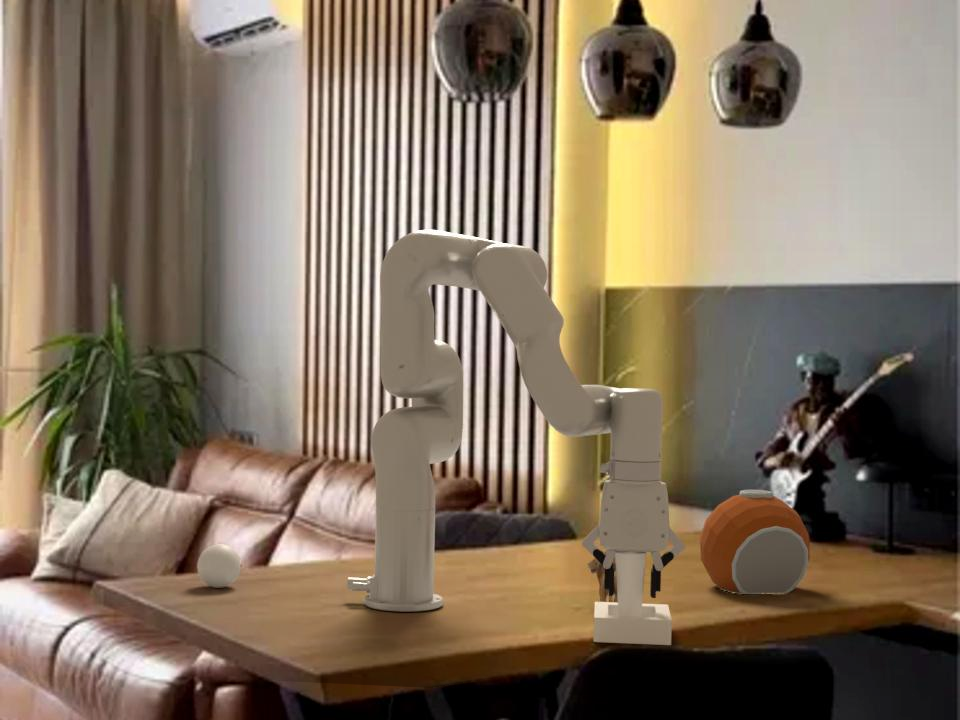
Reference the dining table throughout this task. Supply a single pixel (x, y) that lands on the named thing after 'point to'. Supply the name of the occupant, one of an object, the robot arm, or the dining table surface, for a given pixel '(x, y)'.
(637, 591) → the perfume bottle
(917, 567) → the dining table surface
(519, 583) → the dining table surface
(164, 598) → the dining table surface
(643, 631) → the white rectangular box
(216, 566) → the off-white rounded piece
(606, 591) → the lion figurine
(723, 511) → the alarm clock
